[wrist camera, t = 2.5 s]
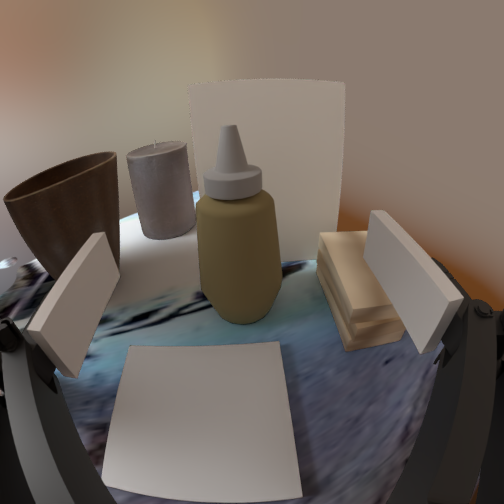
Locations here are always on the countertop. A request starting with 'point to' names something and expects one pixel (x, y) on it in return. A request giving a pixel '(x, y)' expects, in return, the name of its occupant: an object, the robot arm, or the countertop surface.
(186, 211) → the pillar candle
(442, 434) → the robot arm
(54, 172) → the plant pot
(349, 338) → the offcut stack
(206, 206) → the squeeze bottle
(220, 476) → the grey mat
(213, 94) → the panel
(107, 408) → the countertop surface
